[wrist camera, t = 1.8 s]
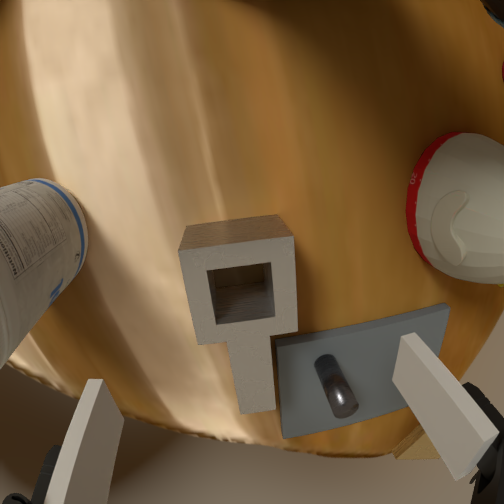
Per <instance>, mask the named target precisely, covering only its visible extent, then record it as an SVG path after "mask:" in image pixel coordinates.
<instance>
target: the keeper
mask: <svg viewBox="0 0 504 504" xmlns="http://www.w3.org/2000/svg"><path fill="white" fill-rule="evenodd" d="M391 451H392V453H393V455H394V456H395V458H396V459H439V458H440V457H441V456H440V455H439V453H438V451H437V450H436V448H435V446H434V445H433V443H432V442H431V440H430V438H429V437H428V435H427V434H426V432H425V430H424V429H423V427H422V426H421V424H419V425H418V426H417V427H416V428H415V429H414V430H413V431H412V432H411V433H410V434H409V435H408V436H407V437H406V438H405V439H404V440H403V441H402V442H400V443H399V444H398V445H397V446H396V447H395V448H394V449H393V450H391Z"/></svg>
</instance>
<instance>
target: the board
mask: <svg viewBox="0 0 504 504" xmlns="http://www.w3.org/2000/svg"><path fill="white" fill-rule="evenodd" d="M449 313H450V307H449V306H448V305H447V304H445V303H442V304H438V305H434V306H431V307H427V308H423V309H419V310H416V311H412V312H408V313H404V314H400V315H396V316H391V317H387V318H383V319H379V320H374V321H370V322H365V323H360V324H356V325H351V326H346V327H341V328H336V329H331V330H326V331H321V332H315V333H310V334H304V335H298V336H292V337H286V338H280V339H275V347H276V360H277V374H278V387H279V402H280V416H281V431H282V436H283V439H286V438H292V437H297V436H302V435H307V434H312V433H317V432H321V431H326V430H330V429H334V428H338V427H342V426H346V425H350V424H353V423H357V422H361V421H364V420H367V419H371V418H374V417H377V416H381V415H384V414H387V413H390V412H393V411H396V410H399V409H402V408H405V407H408V406H409V405H408V404H407V402H406V401H405V399H404V398H403V396H402V395H401V393H400V392H399V390H398V388H397V387H396V385H395V384H394V382H393V381H392V378H393V374H394V369H395V364H396V360H397V355H398V350H399V344H400V339H401V336H403V335H407V334H410V333H414V332H415V333H416V334H417V335H418V336H419V337H420V338H421V340H422V341H423V342H424V343H425V344H426V345H427V346H428V347H429V348H430V350H431V351H432V352H433V353H434V354H435V355H436V356H437V357H438V356H439V352H440V349H441V345H442V341H443V337H444V334H445V330H446V326H447V321H448V317H449ZM325 354H331V355H333V356H334V357H335V358H336V360H337V362H338V364H339V366H340V368H341V370H342V372H343V374H344V376H345V378H346V380H347V382H348V384H349V386H350V388H351V390H352V392H353V394H354V396H355V398H356V400H357V402H358V404H359V408H358V410H357V411H356V412H355V413H354V414H353V415H351V416H349V417H347V418H343V419H338V418H336V417H335V416H334V414H333V412H332V409H331V407H330V404H329V402H328V400H327V397H326V395H325V392H324V390H323V387H322V385H321V382H320V380H319V377H318V375H317V372H316V370H315V368H314V363H315V361H316V359H317V358H319V357H320V356H322V355H325Z"/></svg>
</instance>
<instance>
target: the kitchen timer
mask: <svg viewBox="0 0 504 504" xmlns="http://www.w3.org/2000/svg"><path fill="white" fill-rule="evenodd" d="M406 217H407V226H408V232H409V235H410V238H411V240H412V243H413V246H414V248H415V250H416V251H417V252H418V253H419V255H420V256H421V257H422V258H423V260H424V261H426V262H427V263H429V264H430V265H431V266H433V267H434V268H436V269H438V270H440V271H441V272H443V273H445V274H447V275H449V276H451V277H454V278H457V279H461V280H466V281H471V282H477V283H486V284H497V285H498V286H499V287H503V286H504V146H503V145H501V144H500V143H498V142H496V141H494V140H492V139H490V138H488V137H486V136H484V135H480V134H476V133H465V132H451V133H448V134H446V135H443V136H441V137H439V138H437V139H436V140H435V141H434V142H433V143H432V144H431V145H430V146H429V147H427V148H426V149H425V151H424V152H423V154H422V156H421V157H420V159H419V161H418V162H417V164H416V166H415V167H414V171H413V174H412V177H411V180H410V183H409V186H408V192H407V203H406Z"/></svg>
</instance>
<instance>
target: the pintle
mask: <svg viewBox="0 0 504 504" xmlns="http://www.w3.org/2000/svg"><path fill="white" fill-rule="evenodd" d="M314 368H315V370H316V372H317V375H318V377H319V380H320V382H321V385H322V387H323V390H324V392H325V395H326V397H327V400H328V402H329V404H330V407H331V409H332V412H333V414H334V416H335V417H336V418H338V419H343V418H347V417H349V416H351V415H353V414H354V413H355V412H356V411H357V410H358V408H359V404H358V402H357V400H356V398H355V396H354V394H353V392H352V390H351V388H350V386H349V384H348V382H347V380H346V378H345V376H344V374H343V372H342V370H341V368H340V366H339V364H338V362H337V360H336V358H335V357H334V356H333V355H331V354H325V355H322V356H320V357H319V358H317V359H316V361H315V363H314Z"/></svg>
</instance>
